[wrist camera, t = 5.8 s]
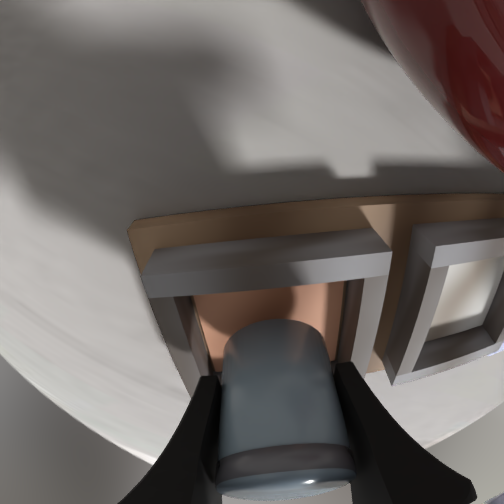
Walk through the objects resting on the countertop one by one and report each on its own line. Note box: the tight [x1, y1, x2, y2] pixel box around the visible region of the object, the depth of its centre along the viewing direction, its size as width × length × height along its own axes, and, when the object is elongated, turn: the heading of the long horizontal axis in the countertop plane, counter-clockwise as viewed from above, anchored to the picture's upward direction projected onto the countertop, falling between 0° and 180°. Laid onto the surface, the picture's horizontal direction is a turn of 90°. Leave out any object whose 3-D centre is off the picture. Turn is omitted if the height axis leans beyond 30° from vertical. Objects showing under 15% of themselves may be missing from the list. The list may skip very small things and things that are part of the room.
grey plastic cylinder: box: [215, 319, 357, 501], centre depth 9 cm, size 4×4×6 cm
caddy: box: [127, 193, 504, 398], centre depth 13 cm, size 22×11×3 cm, turn 96°
